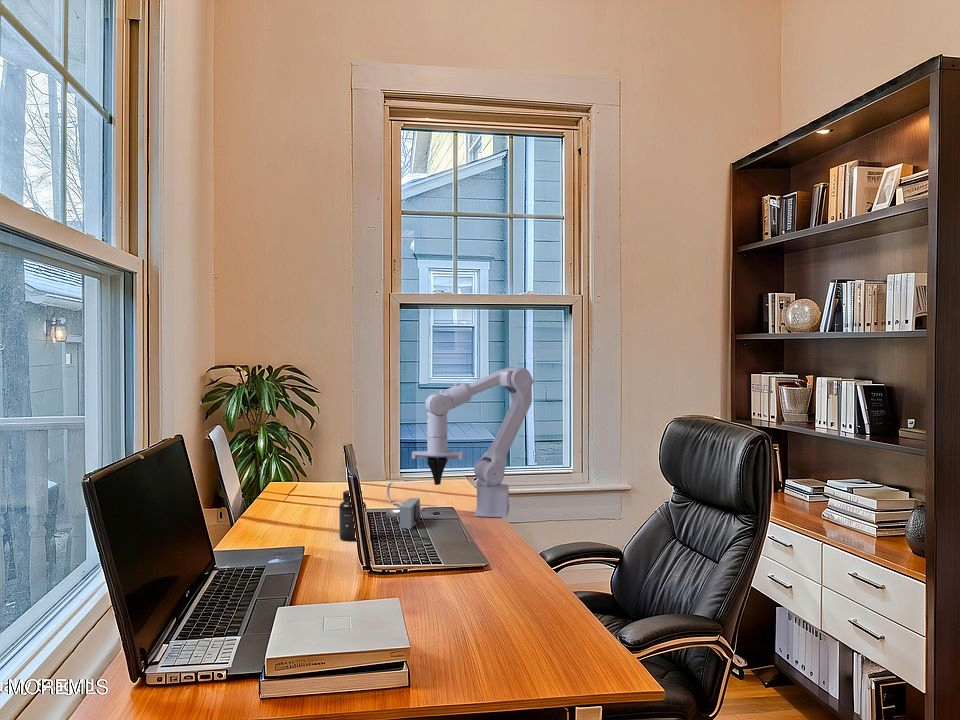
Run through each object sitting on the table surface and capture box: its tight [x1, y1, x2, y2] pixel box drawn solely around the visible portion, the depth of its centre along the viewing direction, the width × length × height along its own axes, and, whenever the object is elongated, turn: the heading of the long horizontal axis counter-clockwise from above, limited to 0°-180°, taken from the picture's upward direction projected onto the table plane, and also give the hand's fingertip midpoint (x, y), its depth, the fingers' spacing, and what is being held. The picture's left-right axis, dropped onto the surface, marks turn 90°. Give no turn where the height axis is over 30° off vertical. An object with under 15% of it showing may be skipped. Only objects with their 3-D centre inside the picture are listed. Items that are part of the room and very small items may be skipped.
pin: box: [385, 504, 422, 523], centre depth 203 cm, size 9×5×5 cm, turn 83°
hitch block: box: [399, 497, 421, 530], centre depth 203 cm, size 3×12×6 cm, turn 173°
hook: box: [386, 481, 424, 510], centre depth 224 cm, size 7×9×20 cm
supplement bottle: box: [338, 489, 367, 542], centre depth 188 cm, size 7×7×12 cm
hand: (437, 484), depth 209 cm, fingers closed
